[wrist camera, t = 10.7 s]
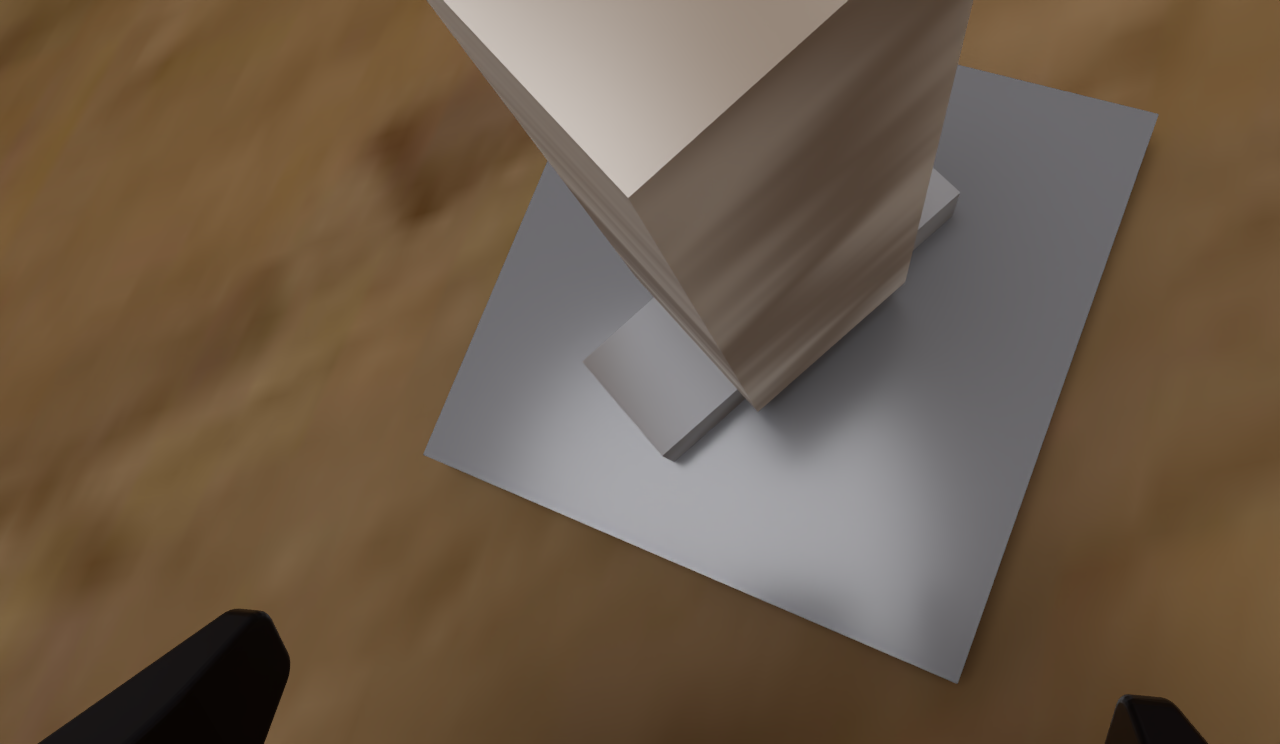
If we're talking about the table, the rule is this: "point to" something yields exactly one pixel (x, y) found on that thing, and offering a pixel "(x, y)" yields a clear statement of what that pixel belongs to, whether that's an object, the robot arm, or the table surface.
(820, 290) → the upright block on base
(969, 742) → the table surface
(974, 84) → the slate plate
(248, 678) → the robot arm
